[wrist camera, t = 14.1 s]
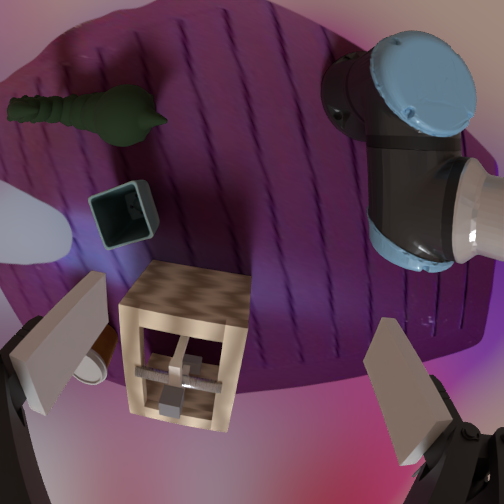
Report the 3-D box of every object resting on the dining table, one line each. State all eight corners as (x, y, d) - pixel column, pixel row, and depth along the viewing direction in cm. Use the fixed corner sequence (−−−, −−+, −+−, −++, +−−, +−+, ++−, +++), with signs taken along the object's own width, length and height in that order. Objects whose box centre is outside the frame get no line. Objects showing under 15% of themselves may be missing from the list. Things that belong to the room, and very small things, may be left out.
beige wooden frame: (251, 276, 56) (247, 332, 40) (233, 374, 65) (226, 436, 49) (152, 259, 55) (115, 307, 39) (152, 359, 64) (128, 416, 48)
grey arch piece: (206, 312, 52) (187, 385, 37) (201, 367, 57) (185, 437, 42) (177, 307, 52) (149, 377, 37) (175, 363, 57) (154, 431, 42)
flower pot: (111, 187, 51) (86, 197, 42) (155, 171, 50) (135, 179, 41) (127, 233, 54) (105, 251, 45) (170, 220, 53) (154, 237, 44)
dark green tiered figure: (63, 133, 49) (180, 152, 48) (-11, 141, 31) (122, 161, 30) (71, 85, 45) (193, 95, 45) (-2, 78, 28) (139, 74, 27)
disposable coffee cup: (111, 312, 60) (86, 346, 49) (132, 347, 63) (113, 384, 52) (79, 320, 61) (54, 352, 50) (100, 354, 64) (80, 388, 53)
